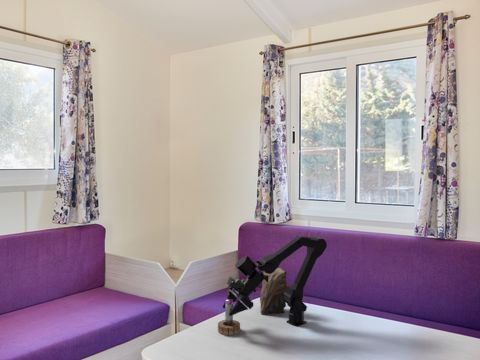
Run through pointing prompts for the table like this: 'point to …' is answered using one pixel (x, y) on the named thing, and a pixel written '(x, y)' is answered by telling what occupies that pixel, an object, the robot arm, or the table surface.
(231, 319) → the purple capped tube
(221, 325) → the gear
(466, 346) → the table surface
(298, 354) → the table surface
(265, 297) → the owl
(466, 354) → the table surface
